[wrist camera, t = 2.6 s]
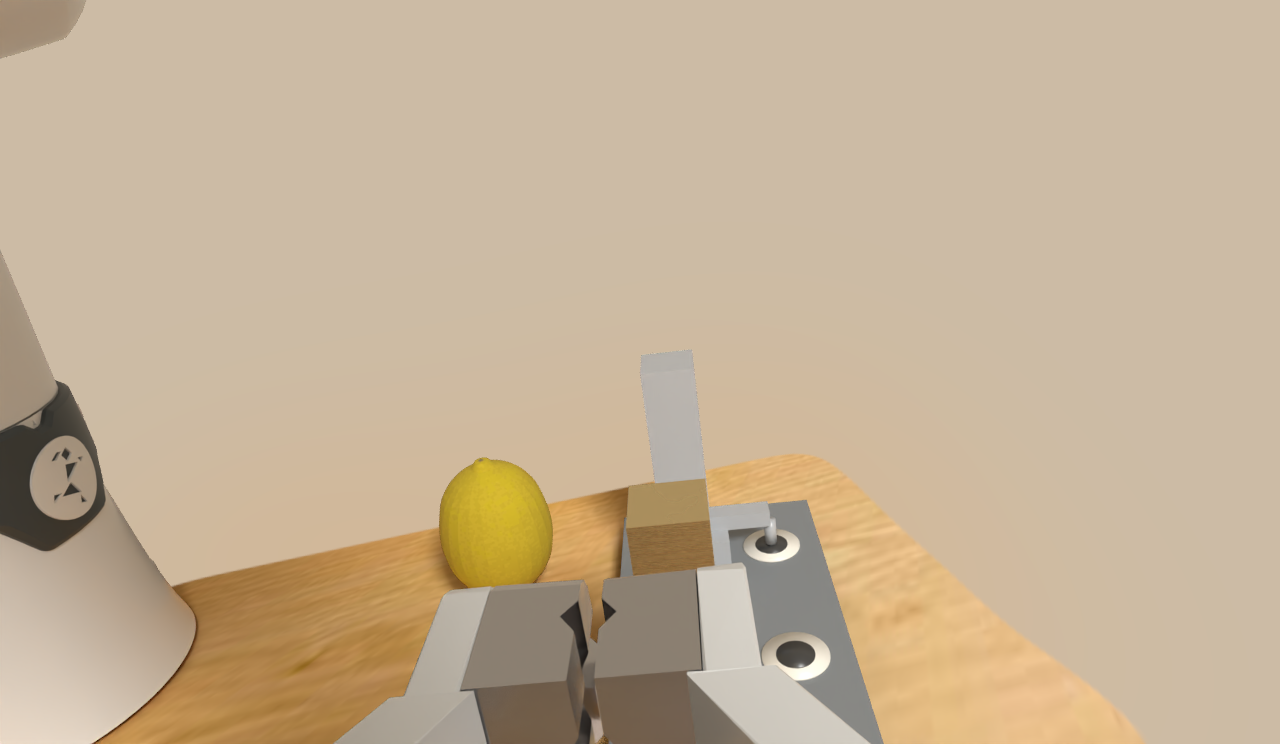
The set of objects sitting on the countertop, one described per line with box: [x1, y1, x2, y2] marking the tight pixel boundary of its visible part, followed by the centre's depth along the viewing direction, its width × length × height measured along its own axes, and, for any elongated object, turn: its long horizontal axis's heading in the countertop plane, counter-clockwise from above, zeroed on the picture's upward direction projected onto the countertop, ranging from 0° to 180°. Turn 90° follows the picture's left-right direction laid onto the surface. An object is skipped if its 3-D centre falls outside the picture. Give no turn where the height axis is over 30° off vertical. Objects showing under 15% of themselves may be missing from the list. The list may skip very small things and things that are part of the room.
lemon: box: [439, 458, 553, 588], centre depth 42 cm, size 6×6×8 cm
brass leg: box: [626, 478, 715, 576], centre depth 27 cm, size 6×3×11 cm, turn 89°
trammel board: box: [609, 350, 884, 744], centre depth 35 cm, size 10×20×12 cm, turn 179°
